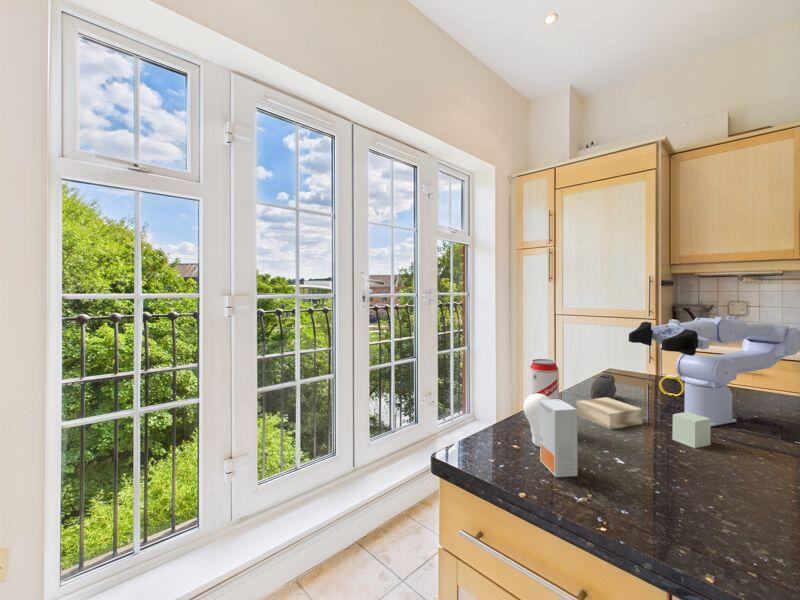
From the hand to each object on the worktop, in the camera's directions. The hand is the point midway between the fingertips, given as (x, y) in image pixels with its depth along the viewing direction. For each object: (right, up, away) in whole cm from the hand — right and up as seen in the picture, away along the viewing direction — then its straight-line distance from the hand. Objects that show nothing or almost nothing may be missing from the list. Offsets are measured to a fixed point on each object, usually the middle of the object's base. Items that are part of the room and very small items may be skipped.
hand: (646, 341), depth 82 cm
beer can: (-22, -21, +3) cm, 30 cm away
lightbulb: (-26, -21, -6) cm, 34 cm away
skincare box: (-26, -22, -15) cm, 37 cm away
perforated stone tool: (+2, -20, +22) cm, 30 cm away
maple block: (-3, -21, +9) cm, 23 cm away
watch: (+26, -19, +28) cm, 43 cm away
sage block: (+6, -21, -5) cm, 22 cm away
